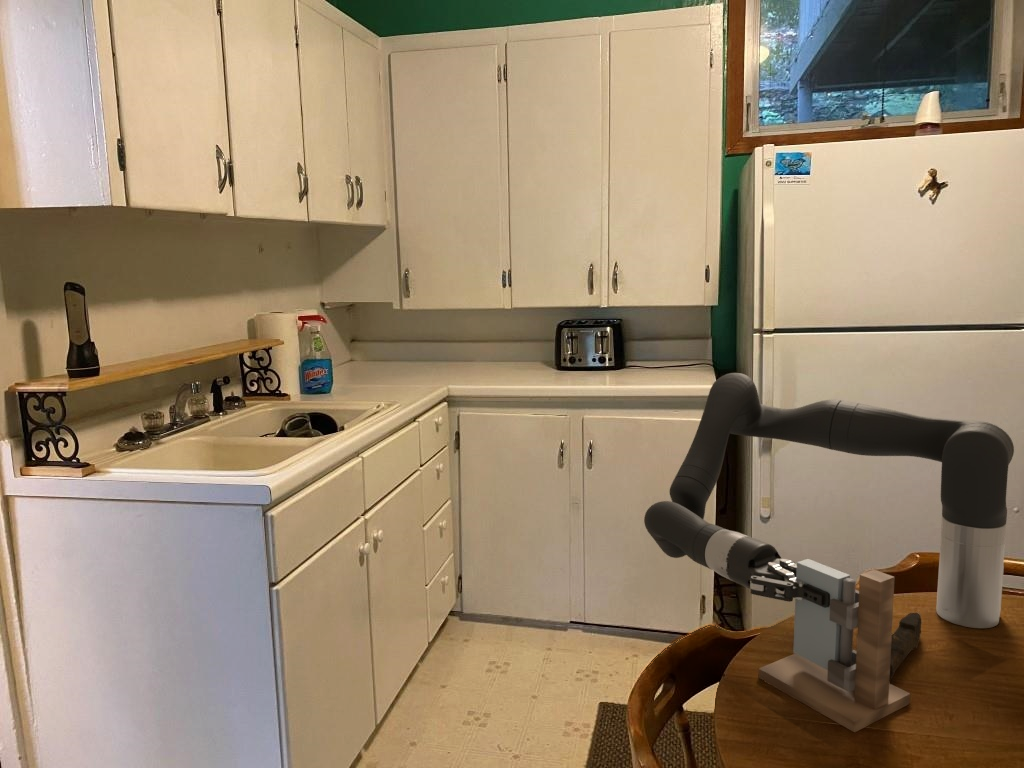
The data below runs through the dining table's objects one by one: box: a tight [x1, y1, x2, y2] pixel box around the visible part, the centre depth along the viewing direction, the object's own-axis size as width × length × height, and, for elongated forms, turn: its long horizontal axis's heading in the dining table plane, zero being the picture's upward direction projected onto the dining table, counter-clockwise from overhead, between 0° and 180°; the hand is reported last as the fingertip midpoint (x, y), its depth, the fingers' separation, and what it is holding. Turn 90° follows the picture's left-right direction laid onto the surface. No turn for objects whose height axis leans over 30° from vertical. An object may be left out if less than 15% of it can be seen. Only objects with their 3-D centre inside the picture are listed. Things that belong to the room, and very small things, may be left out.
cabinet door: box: [792, 558, 857, 670], centre depth 109 cm, size 2×9×14 cm, turn 30°
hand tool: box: [889, 612, 922, 683], centre depth 118 cm, size 19×4×5 cm, turn 134°
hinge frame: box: [758, 569, 911, 733], centre depth 109 cm, size 12×16×20 cm
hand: (835, 598), depth 107 cm, fingers closed on cabinet door, 2 cm apart
